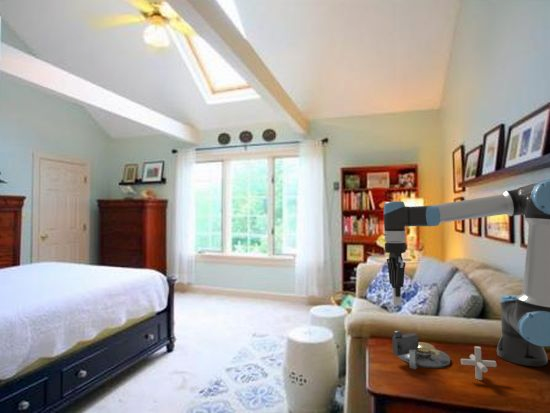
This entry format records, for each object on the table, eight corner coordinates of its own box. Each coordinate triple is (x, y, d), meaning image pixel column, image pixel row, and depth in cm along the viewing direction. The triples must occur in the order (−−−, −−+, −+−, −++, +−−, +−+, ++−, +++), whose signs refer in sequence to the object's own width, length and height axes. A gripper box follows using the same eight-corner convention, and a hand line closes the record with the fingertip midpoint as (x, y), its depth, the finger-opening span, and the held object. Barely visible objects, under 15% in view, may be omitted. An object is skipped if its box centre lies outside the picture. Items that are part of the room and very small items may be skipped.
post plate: (460, 360, 122) (459, 343, 123) (425, 374, 111) (425, 356, 112) (416, 345, 138) (416, 330, 138) (382, 356, 127) (382, 340, 127)
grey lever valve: (417, 341, 133) (416, 321, 133) (445, 353, 121) (444, 330, 121) (382, 348, 126) (382, 326, 126) (409, 361, 114) (408, 337, 114)
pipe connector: (503, 387, 102) (501, 354, 103) (467, 384, 104) (466, 352, 105) (489, 373, 112) (488, 342, 113) (456, 370, 114) (456, 341, 115)
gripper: (379, 241, 134) (381, 301, 132) (391, 243, 121) (393, 309, 119) (398, 241, 134) (400, 300, 133) (412, 243, 121) (414, 309, 120)
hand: (397, 304), depth 126 cm, fingers closed
